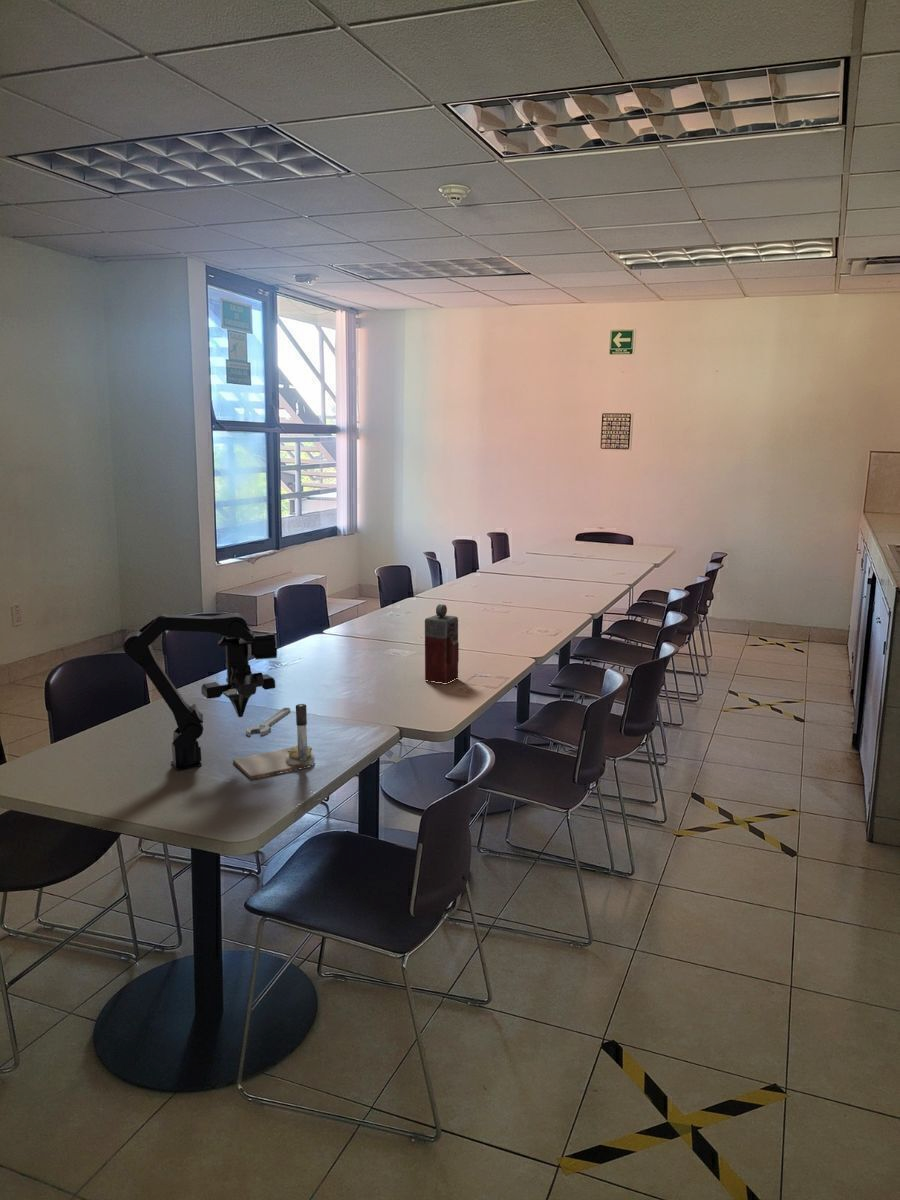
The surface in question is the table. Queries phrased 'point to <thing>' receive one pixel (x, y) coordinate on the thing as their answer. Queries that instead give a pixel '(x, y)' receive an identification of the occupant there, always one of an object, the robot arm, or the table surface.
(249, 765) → the brown wooden board
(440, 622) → the knobbed red-grey post
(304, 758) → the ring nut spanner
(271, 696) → the table surface
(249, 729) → the adjustable wrench
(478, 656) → the table surface
